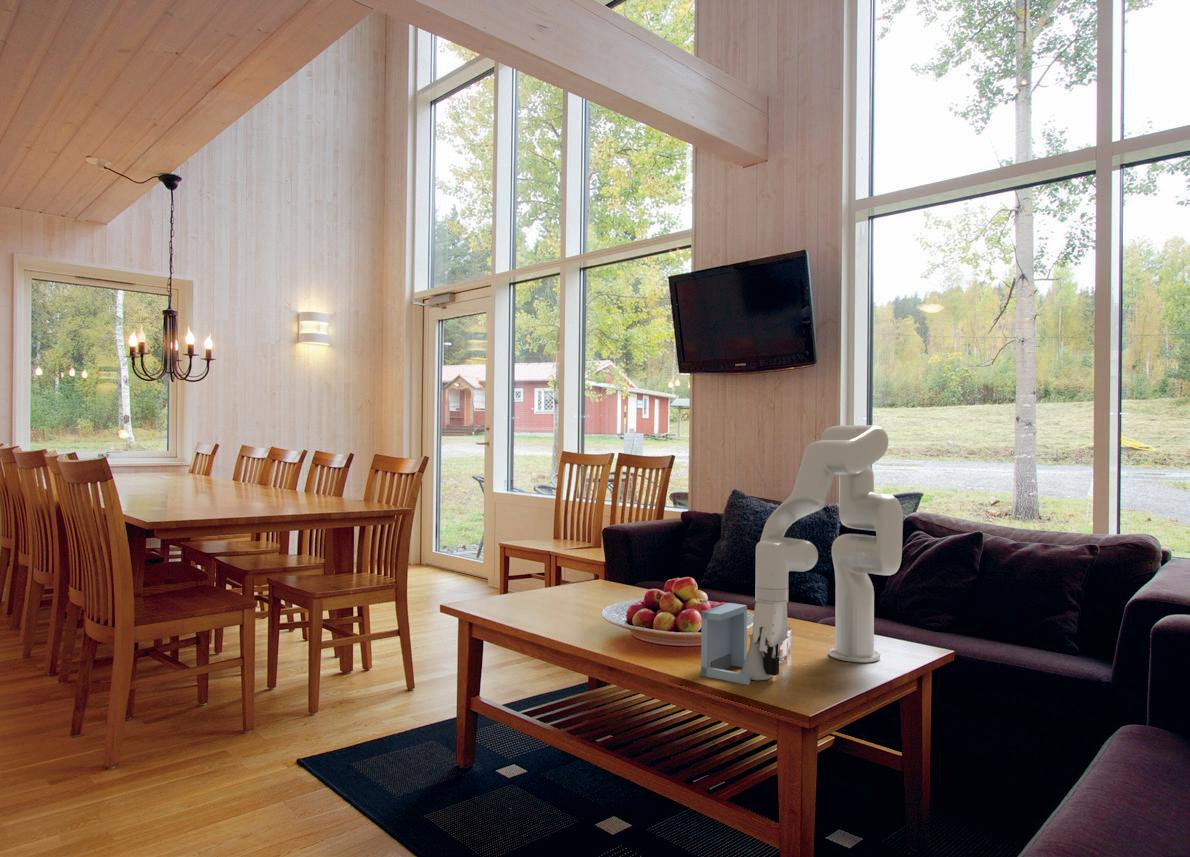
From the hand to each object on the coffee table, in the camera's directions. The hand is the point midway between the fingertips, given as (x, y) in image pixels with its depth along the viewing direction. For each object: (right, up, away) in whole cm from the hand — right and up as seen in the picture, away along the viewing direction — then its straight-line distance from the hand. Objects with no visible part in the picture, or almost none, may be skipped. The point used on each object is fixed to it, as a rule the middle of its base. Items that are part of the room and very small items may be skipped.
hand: (771, 673), depth 188 cm
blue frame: (-7, -1, +5) cm, 9 cm away
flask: (-3, -2, +3) cm, 4 cm away
